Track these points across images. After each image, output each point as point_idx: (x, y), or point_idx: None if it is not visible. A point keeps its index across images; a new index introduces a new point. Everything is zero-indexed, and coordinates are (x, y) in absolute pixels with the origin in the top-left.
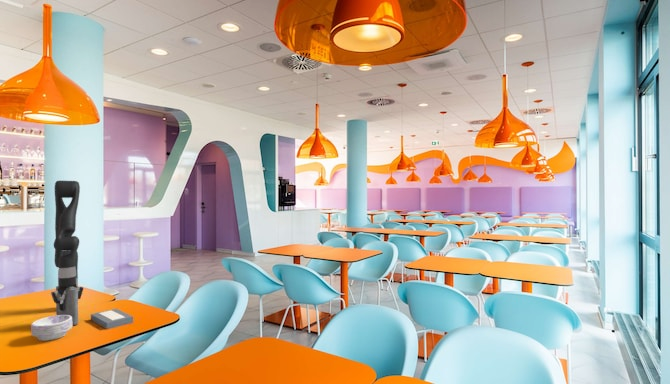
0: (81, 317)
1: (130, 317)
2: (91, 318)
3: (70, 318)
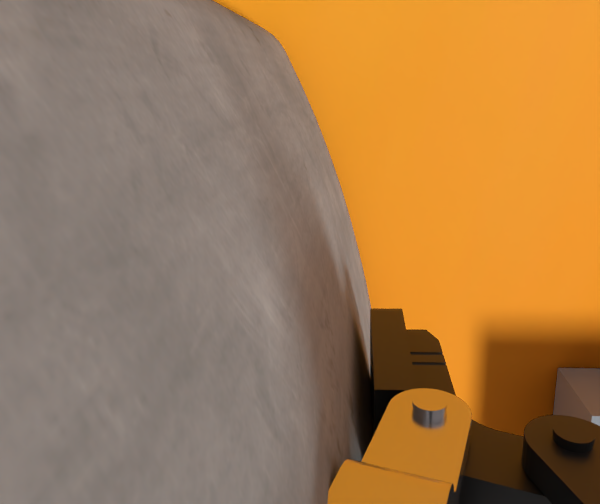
0: (530, 112)
1: None
2: (565, 403)
3: None
